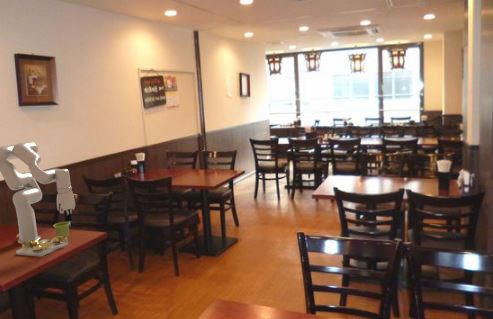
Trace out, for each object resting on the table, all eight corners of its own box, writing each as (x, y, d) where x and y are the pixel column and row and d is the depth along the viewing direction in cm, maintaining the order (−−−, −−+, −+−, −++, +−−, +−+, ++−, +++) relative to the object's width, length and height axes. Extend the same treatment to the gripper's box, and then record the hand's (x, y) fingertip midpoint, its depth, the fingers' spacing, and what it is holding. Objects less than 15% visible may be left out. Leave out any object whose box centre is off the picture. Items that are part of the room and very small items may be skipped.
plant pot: (65, 240, 265) (63, 226, 264) (51, 240, 267) (49, 226, 266) (74, 235, 274) (72, 221, 273) (61, 235, 276) (59, 221, 275)
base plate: (16, 254, 245) (15, 246, 244) (44, 242, 263) (43, 235, 262) (41, 256, 238) (40, 249, 237) (67, 244, 256) (67, 237, 256)
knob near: (34, 242, 255) (33, 237, 255) (40, 243, 254) (39, 237, 253) (20, 248, 246) (19, 242, 246) (26, 249, 245) (25, 243, 244)
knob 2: (51, 242, 254) (50, 236, 253) (56, 239, 258) (56, 234, 258) (64, 243, 250) (63, 237, 250) (69, 240, 254) (69, 235, 254)
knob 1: (35, 251, 239) (34, 245, 239) (32, 249, 242) (31, 244, 242) (53, 246, 246) (52, 240, 245) (50, 245, 249) (49, 239, 249)
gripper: (68, 187, 262) (72, 217, 264) (49, 193, 248) (54, 224, 251) (78, 187, 259) (82, 217, 262) (59, 193, 245) (64, 224, 248)
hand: (68, 220), depth 256 cm, fingers closed
